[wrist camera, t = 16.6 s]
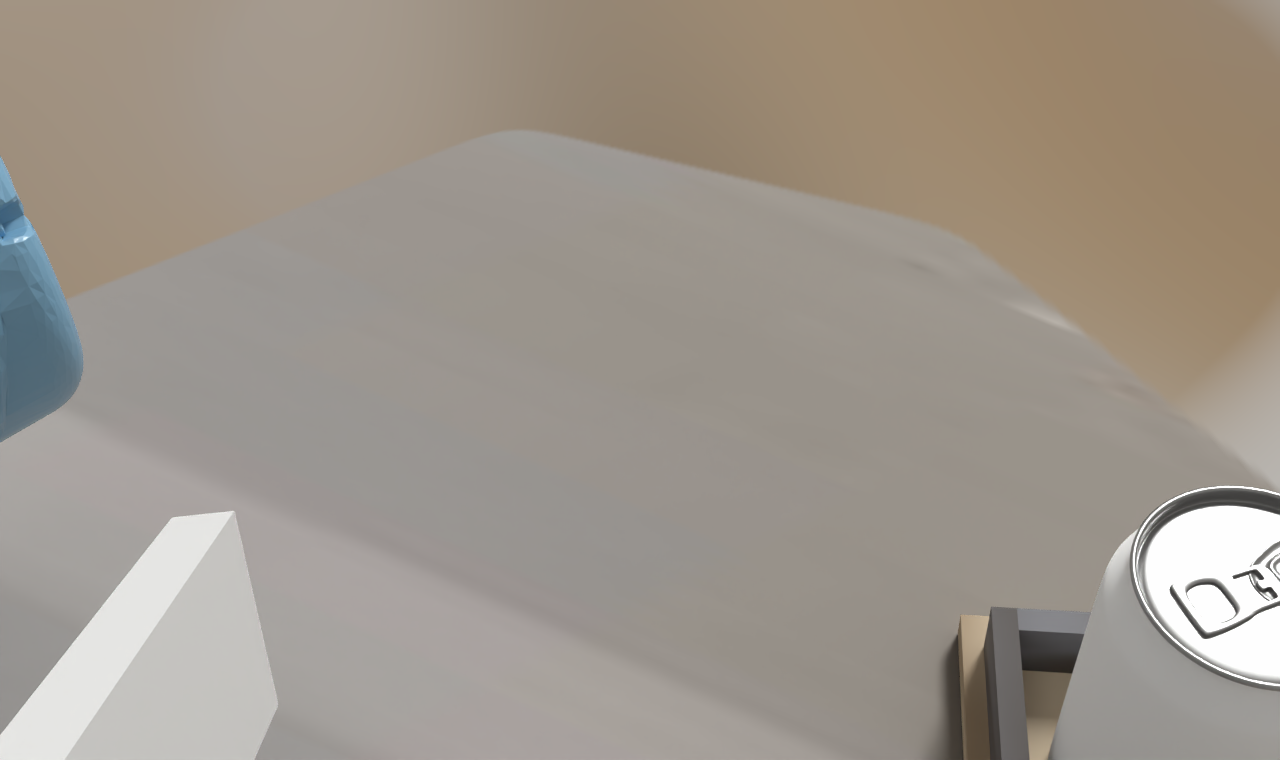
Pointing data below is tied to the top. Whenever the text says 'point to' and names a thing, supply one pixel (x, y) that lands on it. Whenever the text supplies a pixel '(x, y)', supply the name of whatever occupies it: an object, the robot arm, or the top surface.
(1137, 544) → the can
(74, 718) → the robot arm
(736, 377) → the top surface
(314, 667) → the top surface
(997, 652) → the seat block
